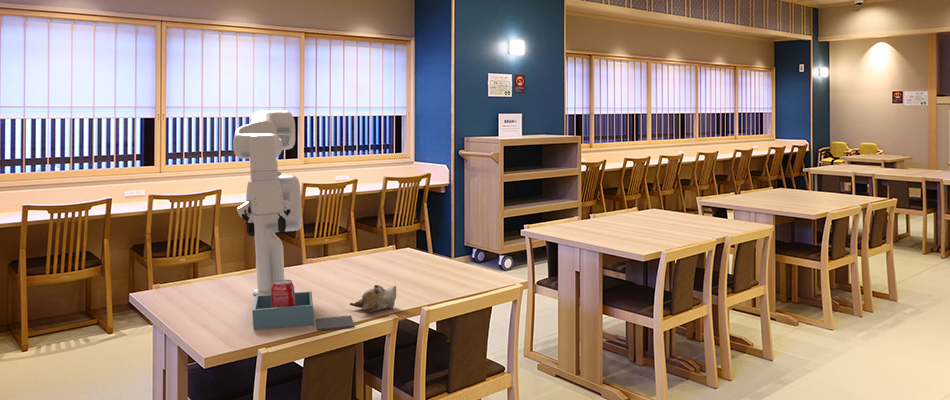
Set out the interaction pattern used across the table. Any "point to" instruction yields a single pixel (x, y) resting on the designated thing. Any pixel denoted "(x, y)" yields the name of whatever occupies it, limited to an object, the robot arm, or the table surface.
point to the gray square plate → (334, 323)
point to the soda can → (283, 294)
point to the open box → (282, 312)
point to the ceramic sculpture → (376, 299)
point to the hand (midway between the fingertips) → (266, 233)
